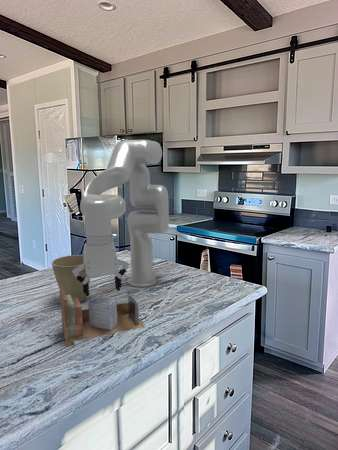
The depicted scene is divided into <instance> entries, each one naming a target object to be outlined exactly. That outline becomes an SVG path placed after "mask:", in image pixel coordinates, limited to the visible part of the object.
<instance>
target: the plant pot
mask: <svg viewBox="0 0 338 450" xmlns="http://www.w3.org/2000/svg"><path fill="white" fill-rule="evenodd" d="M81 264H83V254H73V255H65V256H60V257H57V258H55V259H53V260H52V261H51V267H52V270H53V274H54V278H55V280H56V283H57V286H58V288H59V286H63V287H64V290H65V293H66V295H71V298H78V299H79V301H80V303H82V302H84V301H85V300H86V297H87V296H86V294H85V293H83V283H81V282H80V281H79V280H77V278H76V277H75V276H74V274H73V272H72V271H73V270H74V269H75V268H77V267H78V266H80V265H81ZM78 274H79V275H80V276H82V277H83V276H84V275H85V273H84V269H83V270H82V271H80V272H79V273H78ZM87 283H88V286H89V287H90V283H91V278H90V279H89V280H88V282H87ZM59 290H60V288H59Z"/></svg>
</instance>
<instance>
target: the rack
mask: <svg viewBox="0 0 338 450" xmlns="http://www.w3.org/2000/svg"><path fill="white" fill-rule="evenodd" d="M58 288H60V289H59V298H60V299H59V301H60V302H59V303H60V313H61V325H62V326H61V328H62V332H63V336H64V337H63V338H64V341H65V344H66V346H67V347H69V346H74V345H76V344H75V342H76V341H77V342H78V341H81V340H86V339H92V338H96V337H101V336H106V335H111V334H117V333H120V332H121V333H122V332H126V331H131V330H136V329H141V328H145V327H146V326H145V324H144V323H143V321H142V320H141V319H140V318H139V325H135V324H134V322H133V321H132V319H131V318H130V317H129V310H128V301H126V302H125V301H124V302H119V303H117V320H118V324H117V325H116V326H115V327H114V328H113V329H112V330H107V329H101V328H96V327H90V323H89V308H83V307H82V305H81V304H82V303H81V302H80V301H79V299H78V298H71V295H66V293H65V290H64V287H63V286H58Z"/></svg>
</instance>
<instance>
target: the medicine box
mask: <svg viewBox="0 0 338 450" xmlns="http://www.w3.org/2000/svg"><path fill="white" fill-rule="evenodd" d="M117 304H118V303H117V299H114V298H109V297H101V296H95V297H93V298H91V299H90V300H89V301H87V305H88V306H87V307H88V308H87V309H89V323H90V327H96V328H101V329H107V330H112V329H113V328H114V327H115V326H116V325H117V324H118V320H117Z"/></svg>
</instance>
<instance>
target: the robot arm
mask: <svg viewBox="0 0 338 450" xmlns="http://www.w3.org/2000/svg"><path fill="white" fill-rule="evenodd" d="M162 157H163V150H162V146H161V145H160V143H159V142H158V141H154V140H149V139H124V140H120V141H118V142H117V143H116V144H115V146H114V147H113V150H112V153H111V156H110V159H109V162H108V163H107V167H106V169H104V170H103V171H101V172H100V173H98V174H97V175H96V176H94V177H93V178H92V179H90V180H89V182H88V183H87V185H86V186H85V189H84V190H83V194H82V196H81V199H80V205H79V209H80V213H81V214H82V216H83V217H84V220H85V221H84V222H85V223H84V224H85V235H86V236H85V237H86V243H84V245H83V254H82V255H83V264H81V265H80V266H78V267H77V268H75V269H74V270H73V271H72V272H73V274H74V276H75V277H76V278H77V280H79V281H80V282H81V283H83V293H85V294H86V297H89V296H90V289H89V287H90V285H89V286H88V283H87V282H88V280H89V279H90V280H91V279H92V278H97V277H105V276H111V275H115V277H114V285H115V286H114V287H115V289H116V290H117V291H118V292H119V291H120V290H121V288H122V278H123V276H124V275H125V274H126V273H127V270H128V267H129V262H128V261H124V260H121V259H119V258H118V256H117V248H116V245H115V242H114V239H117V233H112V223H111V222H112V221H111V220H115V219H120V218H121V217H122V216H123V215H124V214H125V212H126V210H127V203H126V200H125V199H124V197H122V195H117V194H103V193H105V192H106V191H108V190H109V191H110V190H111V189H115V188H118V187H120V186H122V185H124V184H127V183H128V182H129V199H130V204H131V205H132V207H135V208H141V209H143V208H145V209H146V208H151V209H156V210H134V211H131V212H129V214H128V215H127V219H126V220H127V221H126V222H127V228H128V233H129V241H130V242H129V245H130V270H131V271H130V272H131V277H129V278H128V279H127V284H128V285H129V286H130V287H135V288H147V287H152V286H153V285H156V284H157V283H158V279H157V278H158V277H161V278H162V277H164V275H165V273H164V271H154V256H153V255H154V253H153V252H154V251H153V248H154V246H153V240H152V238H151V237H150V235H149V234H157V235H158V234H161V235H163V234H165V233H167V232H168V231H169V225H170V214H169V211H170V209H169V208H170V207H169V204H170V203H169V194H168V193H169V192H168V189H167V188H166V187H165V186H164V185H161V184H151V175H150V171H149V168H148V167H147V166H146V165H157V164H159V163H160V162H161V160H162ZM119 265H120V266H122V268H121V269H119ZM83 269H84V273H85V275H84V276H83V277H82V276H80V275H79V274H78V273H79V272H80V271H82V270H83Z"/></svg>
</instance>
